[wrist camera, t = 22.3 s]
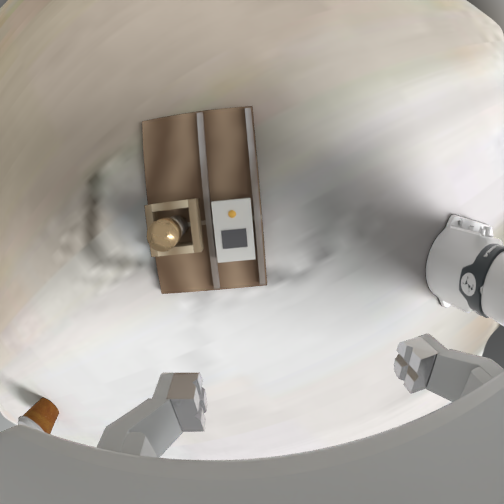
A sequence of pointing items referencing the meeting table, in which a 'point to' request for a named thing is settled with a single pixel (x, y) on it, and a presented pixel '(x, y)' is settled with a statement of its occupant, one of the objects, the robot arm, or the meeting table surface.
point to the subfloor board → (204, 191)
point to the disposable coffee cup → (40, 416)
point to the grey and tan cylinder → (166, 232)
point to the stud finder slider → (233, 230)
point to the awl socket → (195, 223)
